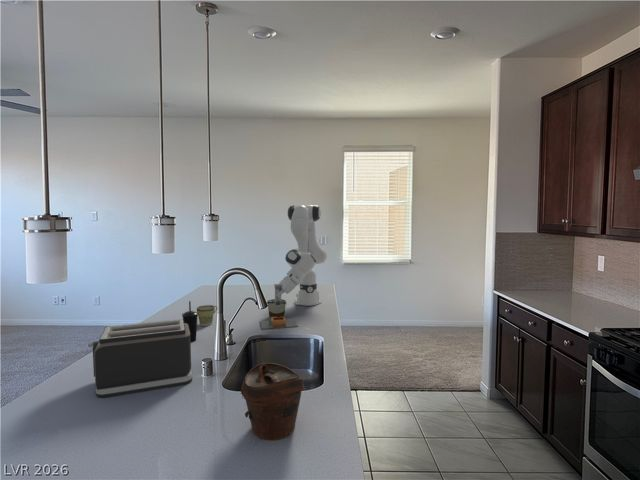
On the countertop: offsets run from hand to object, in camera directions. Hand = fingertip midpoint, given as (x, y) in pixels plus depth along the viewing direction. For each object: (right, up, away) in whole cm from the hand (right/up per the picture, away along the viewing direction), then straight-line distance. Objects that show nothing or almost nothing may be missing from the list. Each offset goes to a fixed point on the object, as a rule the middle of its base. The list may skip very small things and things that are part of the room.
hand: (277, 294), depth 218 cm
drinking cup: (-40, -19, -26) cm, 52 cm away
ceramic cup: (-40, -17, +4) cm, 44 cm away
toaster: (-43, -23, -72) cm, 87 cm away
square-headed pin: (+1, -5, +1) cm, 5 cm away
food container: (-2, -16, +20) cm, 26 cm away
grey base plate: (+1, -17, +1) cm, 17 cm away
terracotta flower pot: (+10, -25, -104) cm, 107 cm away
